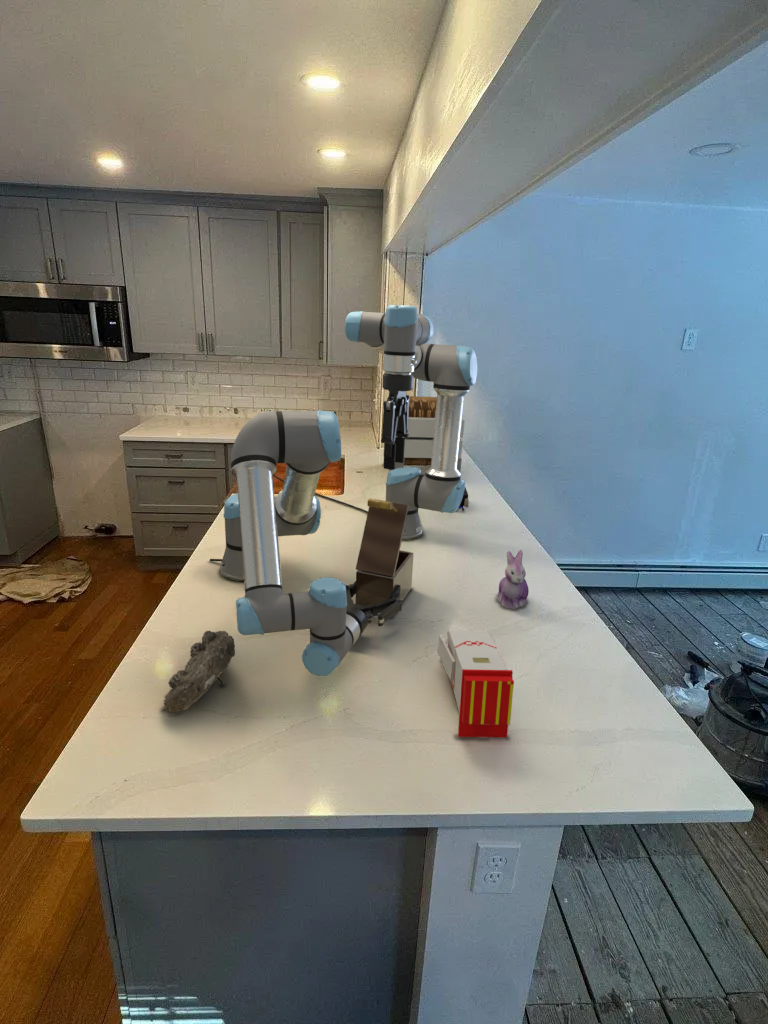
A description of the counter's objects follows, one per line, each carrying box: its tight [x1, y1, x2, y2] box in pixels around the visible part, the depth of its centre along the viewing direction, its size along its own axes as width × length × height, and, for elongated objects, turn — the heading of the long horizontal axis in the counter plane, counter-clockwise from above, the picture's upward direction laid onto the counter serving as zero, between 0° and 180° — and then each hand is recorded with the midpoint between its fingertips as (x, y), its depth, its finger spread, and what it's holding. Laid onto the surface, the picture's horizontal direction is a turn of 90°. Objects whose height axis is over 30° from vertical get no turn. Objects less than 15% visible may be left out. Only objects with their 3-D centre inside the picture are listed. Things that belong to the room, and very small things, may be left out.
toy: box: [437, 628, 515, 738], centre depth 117 cm, size 12×13×30 cm
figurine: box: [497, 549, 530, 610], centre depth 154 cm, size 9×10×15 cm
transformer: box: [383, 392, 465, 474], centre depth 268 cm, size 34×33×41 cm
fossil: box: [163, 630, 236, 713], centre depth 116 cm, size 22×10×15 cm
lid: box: [355, 498, 409, 577], centre depth 141 cm, size 18×10×9 cm
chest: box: [354, 549, 415, 606], centre depth 153 cm, size 18×10×11 cm, turn 160°
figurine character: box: [455, 486, 470, 512], centre depth 229 cm, size 7×8×15 cm
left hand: (379, 585), depth 149 cm, fingers closed on chest, 10 cm apart
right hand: (393, 465), depth 144 cm, fingers open, 7 cm apart
